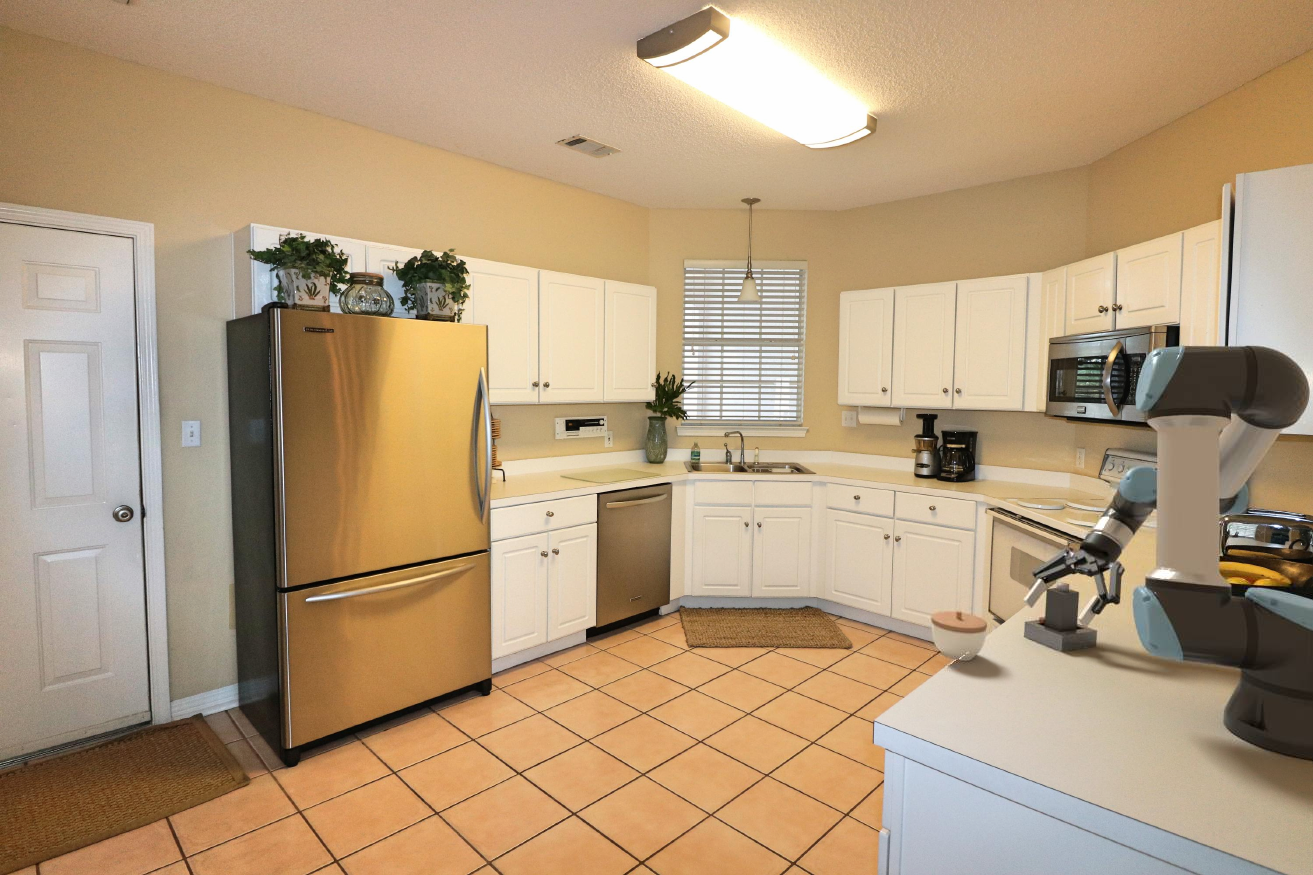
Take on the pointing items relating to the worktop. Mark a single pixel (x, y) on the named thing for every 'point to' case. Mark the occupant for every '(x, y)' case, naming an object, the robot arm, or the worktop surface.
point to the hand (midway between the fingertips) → (1053, 613)
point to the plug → (1061, 608)
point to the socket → (1060, 636)
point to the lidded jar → (958, 634)
